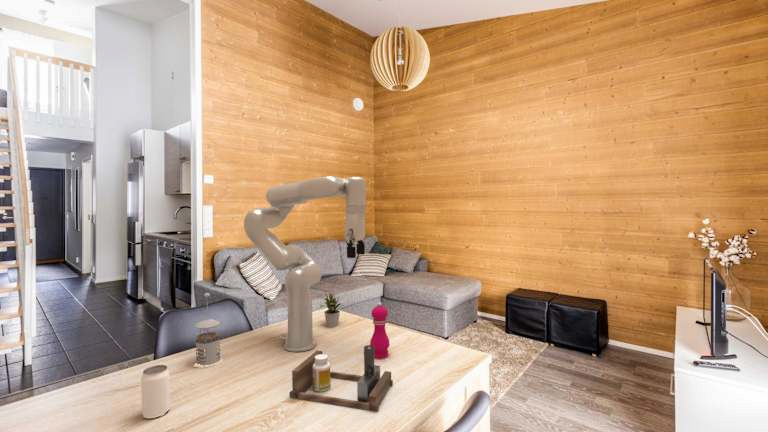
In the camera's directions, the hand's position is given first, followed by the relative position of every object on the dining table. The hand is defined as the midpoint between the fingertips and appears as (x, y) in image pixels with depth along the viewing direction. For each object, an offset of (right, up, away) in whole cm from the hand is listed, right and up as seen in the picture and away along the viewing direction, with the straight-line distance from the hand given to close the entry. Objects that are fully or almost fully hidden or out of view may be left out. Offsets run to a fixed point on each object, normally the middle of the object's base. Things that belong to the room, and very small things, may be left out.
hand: (356, 256), depth 140 cm
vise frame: (-2, -38, -27) cm, 47 cm away
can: (-51, -39, -39) cm, 75 cm away
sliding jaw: (+6, -38, -30) cm, 48 cm away
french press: (-53, -38, -6) cm, 65 cm away
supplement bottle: (-9, -38, -25) cm, 46 cm away
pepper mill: (+9, -37, -1) cm, 38 cm away
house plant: (-15, -36, +34) cm, 52 cm away
